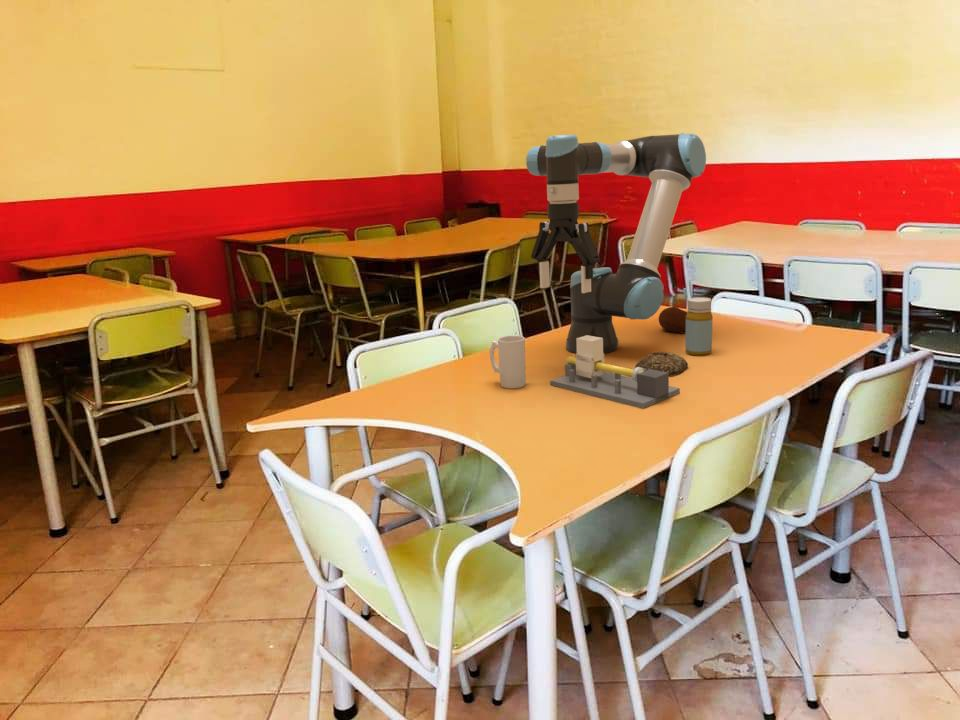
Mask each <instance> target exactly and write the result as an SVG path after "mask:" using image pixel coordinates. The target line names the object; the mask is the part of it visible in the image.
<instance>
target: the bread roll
mask: <svg viewBox="0 0 960 720" xmlns="http://www.w3.org/2000/svg"><path fill="white" fill-rule="evenodd" d="M688 366H689V363H688V362H687V361H686V359H685V358H684V357H683V356H680V355H678V354H676V353H673V352H672V353H671V352H666V351H665V352H663V351H653V352H651V353H649V354H647V355H644V357H642V358H641V359H640V360H639V361H638V362H636V364H635V366H634V369H635V368H636V367H641V368H643V369H644V371H647V370H649V369H652V370H657V371H662V372H667V373H669V377H673V376H675V375H678V374H681V373H683V372H684V370H686V369H687V368H688Z"/></svg>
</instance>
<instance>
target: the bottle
mask: <svg viewBox="0 0 960 720" xmlns="http://www.w3.org/2000/svg"><path fill="white" fill-rule="evenodd" d="M686 312H687V315H686V333H685V336H684V337H685V341H684V344H685V347H684V349H685V353H687V355H690V356H695V355H700V356H699V357H701V356H708V355H710V354H711V353H712V351H713V349H712V348H713V321H714V320H713V319H714V318H713V316H714V315H713V314H712V299H711V298H710V297H690V298H687V311H686Z"/></svg>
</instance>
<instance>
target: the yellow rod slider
mask: <svg viewBox="0 0 960 720" xmlns="http://www.w3.org/2000/svg"><path fill="white" fill-rule="evenodd" d="M565 360H566V361H565V362H566V363H565V364H564V375H562V376H559V377H557V378H553V379H551V380H550V381H549V382H550V383H549V384H550V386H552V387H556V388H560V389H564V390H569V391H573V392H575V393H580V394H583V395H588V396H592V397H595V398H600V399H603V400H608V401H612V402H617V403H620V404H624V405H628V406H632V407H637V408H640V409H643V410H644V409H645V408H647V407H650V406H652V405H655V404H658V403H660V402H662V401H664V400H667V399H670V398H671V397H674V396H676V395H679V394H680V393H681V392H680V391H681V389H680V387H675V386H671V385H669V382H670V379H669V377H670V376H669V373H667V372H662V371H657V370H652V369H649V370H647V371H644V369H643V368H641V367H636V368H635V367H634V369H633V368H629V367H624V366H623V367H622V366H619V365H613V364H608V363H605V362H604V363H600V362H594V369H597V370H602V371H604V374H603V375H600V376H597V375H595V374H593V375H591V378H588V377H583V376H579V375H576V356H570V355H568V356H567V357H566V359H565Z"/></svg>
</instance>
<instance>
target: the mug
mask: <svg viewBox="0 0 960 720" xmlns="http://www.w3.org/2000/svg"><path fill="white" fill-rule="evenodd" d="M496 348H497V354H498V355H497V356H498V364H497V362H496V360H495V359H496V358H495V354H494V353H495V350H496ZM489 360H490V363H491V366H492V369H493V372H494V373H499V381H500V386H501V387H502V388H503V389H510V390H511V389H512V390H513V389H520V388H523V387H525V386H526V383H527V382H526V379H527V378H526V338H525V337H524V336H522V335H505V336H500V337H498V338H497V339H496V340H492V341H491V345H490V349H489Z"/></svg>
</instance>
